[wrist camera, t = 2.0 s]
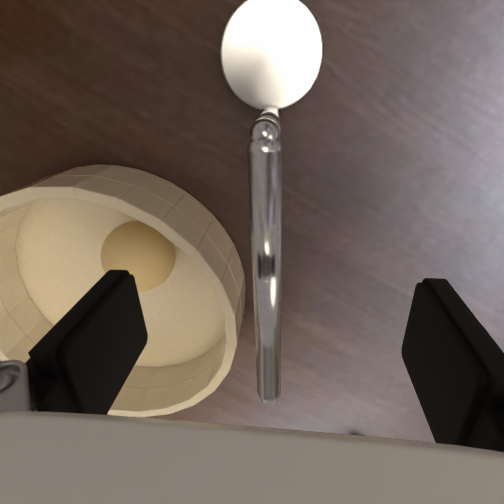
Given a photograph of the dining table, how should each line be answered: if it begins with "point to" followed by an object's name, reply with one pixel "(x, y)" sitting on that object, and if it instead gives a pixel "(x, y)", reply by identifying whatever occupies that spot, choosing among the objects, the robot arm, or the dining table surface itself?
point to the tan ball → (139, 254)
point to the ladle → (269, 145)
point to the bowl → (90, 272)
